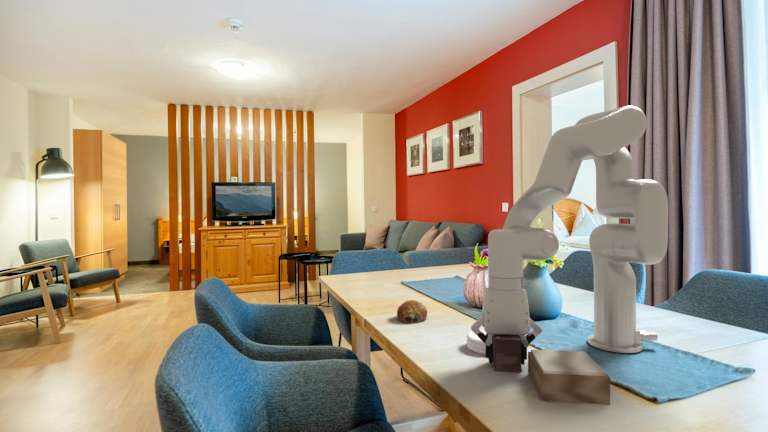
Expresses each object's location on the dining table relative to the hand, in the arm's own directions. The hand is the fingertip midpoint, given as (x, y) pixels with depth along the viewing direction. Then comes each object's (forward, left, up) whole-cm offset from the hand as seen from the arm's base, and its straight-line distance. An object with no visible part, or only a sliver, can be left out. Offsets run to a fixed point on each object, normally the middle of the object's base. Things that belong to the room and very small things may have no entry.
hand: (506, 361), depth 92 cm
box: (0, 0, -1) cm, 1 cm away
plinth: (-10, +10, -1) cm, 14 cm away
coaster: (+3, -12, -2) cm, 12 cm away
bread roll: (+24, -37, -2) cm, 44 cm away
